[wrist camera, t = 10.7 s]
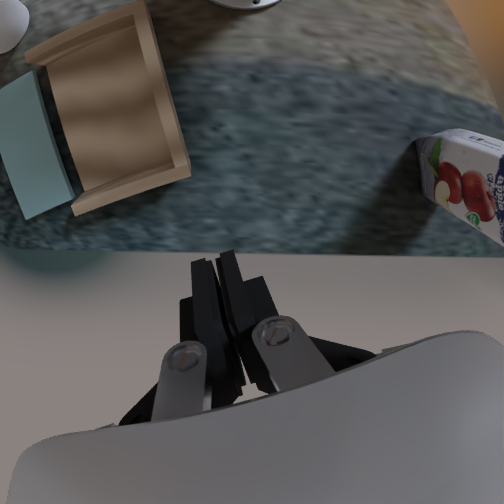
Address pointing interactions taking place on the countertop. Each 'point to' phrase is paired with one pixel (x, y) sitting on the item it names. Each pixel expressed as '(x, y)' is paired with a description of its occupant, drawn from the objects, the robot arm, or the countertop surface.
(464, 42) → the countertop surface
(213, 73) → the countertop surface
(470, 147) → the juice carton
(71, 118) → the crate
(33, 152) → the panel
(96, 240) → the countertop surface
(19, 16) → the cup
